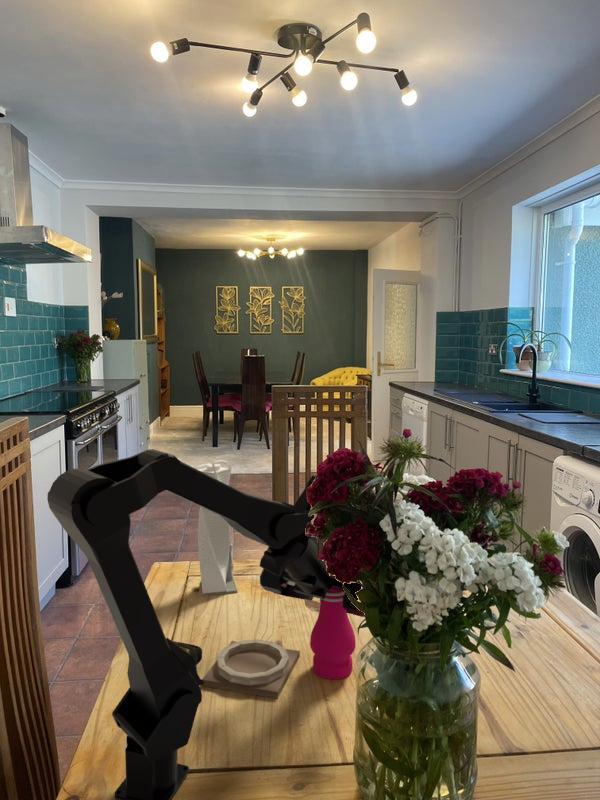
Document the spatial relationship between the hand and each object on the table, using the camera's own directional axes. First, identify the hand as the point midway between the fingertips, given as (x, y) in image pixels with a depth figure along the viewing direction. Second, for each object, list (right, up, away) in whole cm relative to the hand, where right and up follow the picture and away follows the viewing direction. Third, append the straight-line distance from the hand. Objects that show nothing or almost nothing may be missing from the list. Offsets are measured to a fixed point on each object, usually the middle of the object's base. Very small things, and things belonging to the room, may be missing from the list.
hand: (337, 604), depth 95 cm
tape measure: (-26, -11, 0) cm, 28 cm away
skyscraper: (-24, -7, +30) cm, 39 cm away
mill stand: (-13, -10, -1) cm, 17 cm away
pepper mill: (-1, -10, 0) cm, 10 cm away
